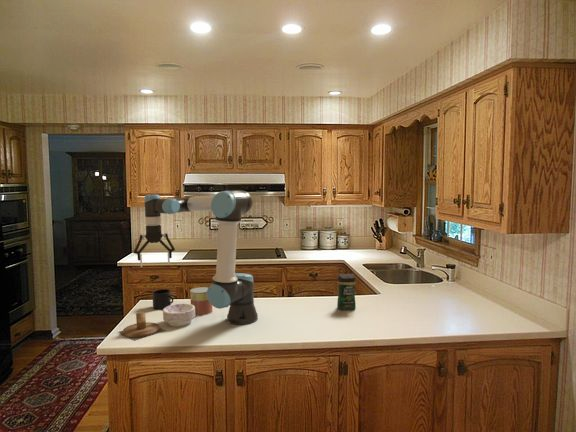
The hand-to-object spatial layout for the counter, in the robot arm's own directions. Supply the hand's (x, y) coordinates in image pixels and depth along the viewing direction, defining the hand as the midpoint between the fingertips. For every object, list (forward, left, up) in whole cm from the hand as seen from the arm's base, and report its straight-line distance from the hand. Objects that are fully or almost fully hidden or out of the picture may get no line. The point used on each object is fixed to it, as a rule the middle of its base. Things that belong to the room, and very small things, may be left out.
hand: (155, 265), depth 216 cm
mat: (-17, +19, -26) cm, 36 cm away
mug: (+8, -9, -26) cm, 29 cm away
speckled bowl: (-21, +1, -26) cm, 34 cm away
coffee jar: (-72, -69, -26) cm, 103 cm away
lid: (-17, +19, -26) cm, 36 cm away
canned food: (-15, -17, -26) cm, 35 cm away
